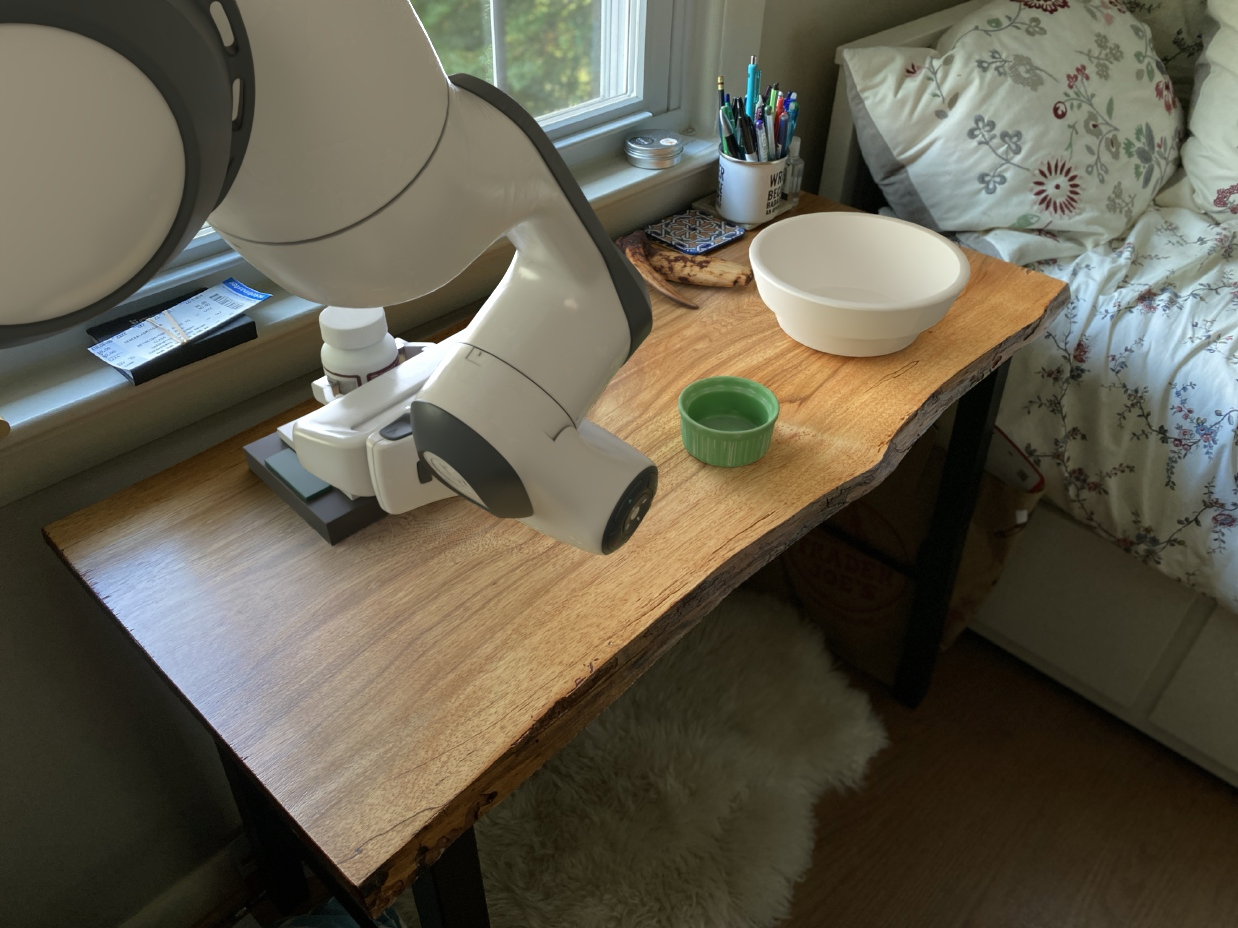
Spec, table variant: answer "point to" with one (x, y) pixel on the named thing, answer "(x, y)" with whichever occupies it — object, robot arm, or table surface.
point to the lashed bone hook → (680, 268)
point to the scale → (309, 489)
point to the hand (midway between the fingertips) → (355, 367)
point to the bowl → (856, 280)
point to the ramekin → (727, 420)
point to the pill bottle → (356, 346)
